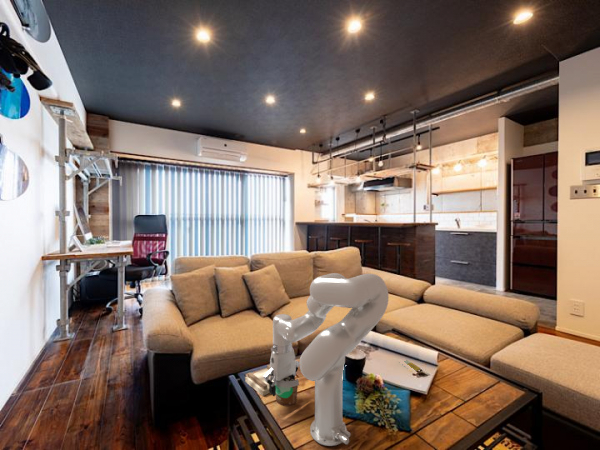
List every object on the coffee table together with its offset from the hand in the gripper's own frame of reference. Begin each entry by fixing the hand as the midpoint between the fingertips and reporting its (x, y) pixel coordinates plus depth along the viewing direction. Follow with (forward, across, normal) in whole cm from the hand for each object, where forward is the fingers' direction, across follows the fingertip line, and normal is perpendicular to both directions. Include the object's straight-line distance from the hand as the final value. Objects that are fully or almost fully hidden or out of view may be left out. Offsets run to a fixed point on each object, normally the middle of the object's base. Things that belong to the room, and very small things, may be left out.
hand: (282, 389), depth 110 cm
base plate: (+5, +3, +15) cm, 16 cm away
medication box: (+5, +60, -22) cm, 64 cm away
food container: (+5, 0, 0) cm, 5 cm away
